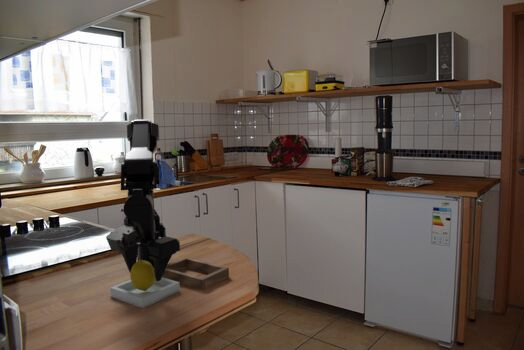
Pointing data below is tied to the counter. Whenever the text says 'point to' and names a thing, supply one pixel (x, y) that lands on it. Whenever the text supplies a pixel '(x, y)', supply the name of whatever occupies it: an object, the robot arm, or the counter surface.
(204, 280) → the holder frame
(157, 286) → the dish
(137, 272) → the lemon
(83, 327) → the counter surface
